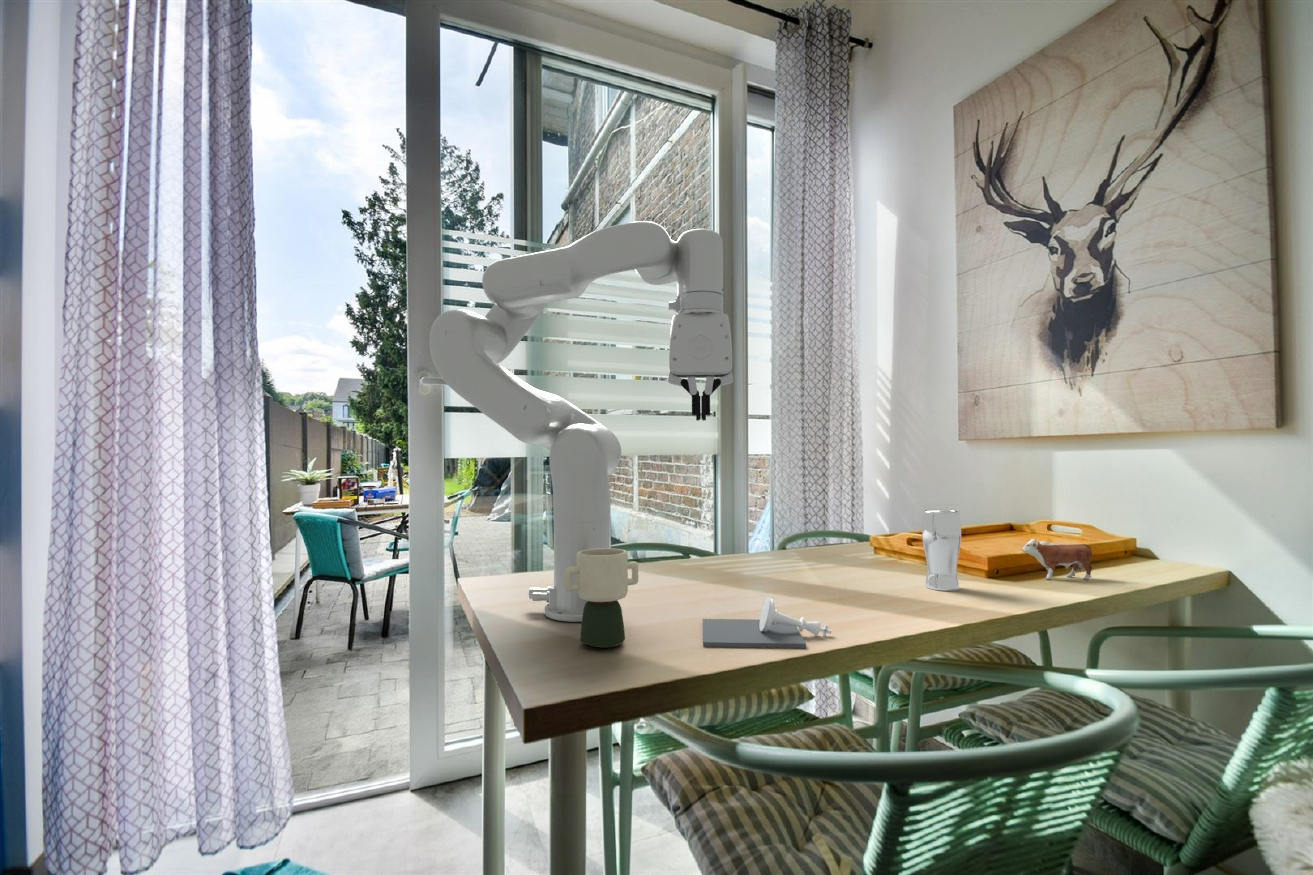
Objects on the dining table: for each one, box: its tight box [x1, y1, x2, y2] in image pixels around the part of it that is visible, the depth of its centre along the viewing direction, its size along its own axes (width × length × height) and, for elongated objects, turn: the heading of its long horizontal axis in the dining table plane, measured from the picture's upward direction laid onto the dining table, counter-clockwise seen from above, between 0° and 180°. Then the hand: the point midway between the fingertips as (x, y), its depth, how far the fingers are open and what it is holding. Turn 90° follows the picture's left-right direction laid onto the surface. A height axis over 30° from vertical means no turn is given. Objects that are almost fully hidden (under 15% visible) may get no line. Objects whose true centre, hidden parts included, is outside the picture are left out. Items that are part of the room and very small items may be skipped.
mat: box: [702, 618, 807, 649], centre depth 91 cm, size 14×12×1 cm
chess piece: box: [759, 597, 832, 637], centre depth 91 cm, size 5×5×10 cm
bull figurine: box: [1021, 538, 1093, 581], centre depth 130 cm, size 4×13×8 cm, turn 82°
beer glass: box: [921, 509, 962, 592], centre depth 122 cm, size 7×7×15 cm
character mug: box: [564, 547, 639, 648], centre depth 87 cm, size 11×7×13 cm, turn 114°
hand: (701, 419), depth 101 cm, fingers closed
